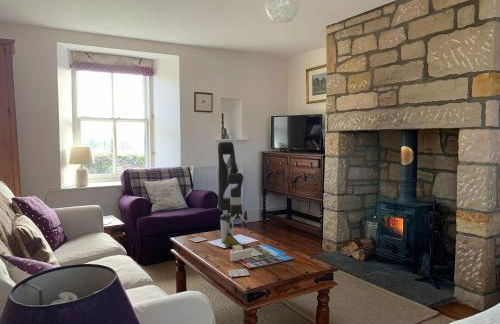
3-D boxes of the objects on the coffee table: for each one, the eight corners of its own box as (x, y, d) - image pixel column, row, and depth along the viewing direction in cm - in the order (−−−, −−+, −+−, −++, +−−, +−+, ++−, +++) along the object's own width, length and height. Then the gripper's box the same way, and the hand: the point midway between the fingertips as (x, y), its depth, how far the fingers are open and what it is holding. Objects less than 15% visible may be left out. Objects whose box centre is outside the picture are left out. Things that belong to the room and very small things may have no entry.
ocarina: (246, 249, 247) (245, 235, 246) (241, 251, 243) (240, 237, 242) (225, 244, 260) (225, 230, 259) (220, 246, 256) (219, 232, 255)
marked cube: (232, 254, 237) (232, 245, 237) (239, 253, 239) (239, 244, 239) (235, 257, 233) (235, 248, 232) (242, 255, 235) (242, 246, 234)
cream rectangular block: (230, 260, 226) (230, 252, 226) (250, 257, 232) (250, 248, 231) (231, 261, 225) (231, 253, 224) (251, 257, 230) (251, 249, 230)
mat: (243, 249, 246) (243, 249, 246) (252, 248, 249) (252, 247, 249) (253, 257, 232) (253, 256, 232) (262, 255, 234) (262, 254, 234)
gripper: (243, 201, 239) (244, 224, 241) (224, 203, 234) (224, 227, 235) (248, 203, 232) (249, 227, 234) (227, 205, 227) (228, 230, 228)
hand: (237, 227), depth 234 cm, fingers open, 8 cm apart
